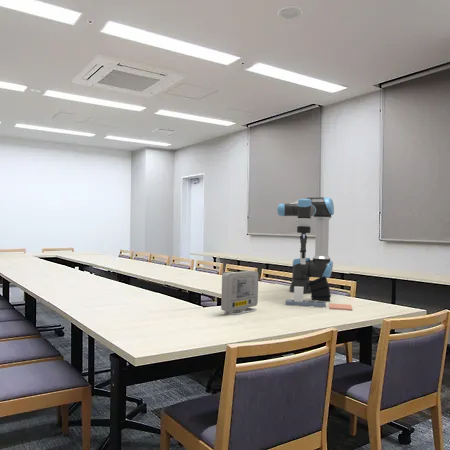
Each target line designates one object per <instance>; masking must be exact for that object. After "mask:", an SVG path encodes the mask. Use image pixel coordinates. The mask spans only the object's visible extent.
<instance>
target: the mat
mask: <svg viewBox="0 0 450 450" xmlns="http://www.w3.org/2000/svg"><path fill="white" fill-rule="evenodd" d="M328 303H329V304H328V309H329V310H340V311H353V306H352V304H347V303H346V304H345V303H333V302H331V303H330V302H328Z"/></svg>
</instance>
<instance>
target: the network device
mask: <svg viewBox="0 0 450 450" xmlns="http://www.w3.org/2000/svg"><path fill="white" fill-rule="evenodd" d="M220 297H221V302H220V303H221V305H220V309H221V311H223V313H224V314H226V315H232V316H240V315H245V314H250V313H252V312H256V310H257V309H256V308H253V307H256V306H257V305H258V302H259V301H258V299H259V298H258V297H259V271H257V270H244V271H234V272H223V274H222V276H221V296H220ZM233 312H236V313H233Z"/></svg>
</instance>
